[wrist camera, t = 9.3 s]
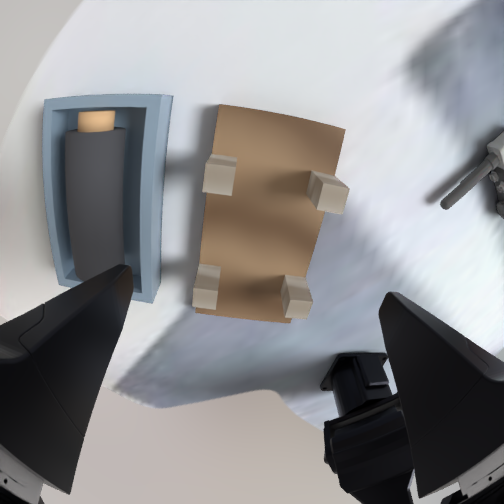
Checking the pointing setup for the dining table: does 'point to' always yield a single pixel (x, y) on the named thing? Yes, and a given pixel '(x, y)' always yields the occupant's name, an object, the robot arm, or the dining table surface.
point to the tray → (134, 181)
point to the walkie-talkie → (498, 162)
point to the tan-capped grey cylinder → (95, 192)
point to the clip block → (265, 213)
